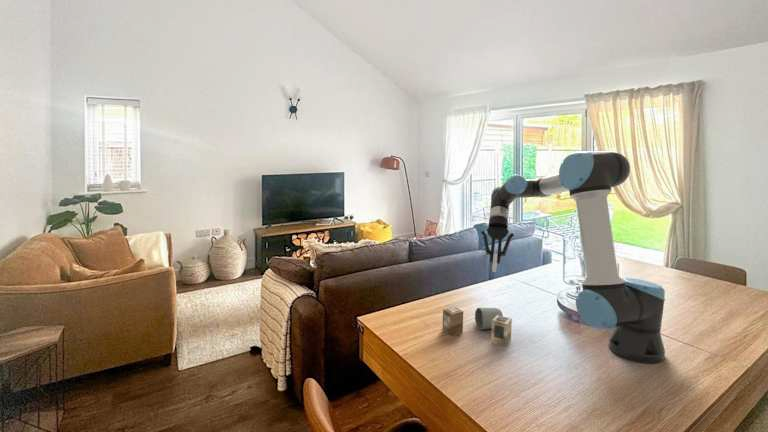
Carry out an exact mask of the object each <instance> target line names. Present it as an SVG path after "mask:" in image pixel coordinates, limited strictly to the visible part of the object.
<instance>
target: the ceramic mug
mask: <svg viewBox="0 0 768 432" xmlns="http://www.w3.org/2000/svg"><path fill="white" fill-rule="evenodd" d="M497 315H499V316H503V313H502V311H501V309H500V308H498V307H477V308H476V309H475V312H474V321H475V325H476V327H477V328H478V329H479V330H492V320H493V319H494V318H495V317H496V316H497ZM503 317H504V316H503Z"/></svg>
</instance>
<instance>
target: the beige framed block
mask: <svg viewBox="0 0 768 432" xmlns="http://www.w3.org/2000/svg"><path fill="white" fill-rule="evenodd" d="M512 321H513V319H512V318H511V317H507V316H499V315H497V316H496V317H495V318H494V319H493V320H492V329H491V334H490V335H491V338H490V343H491V344H494V345H497V346H501V347H507V346H508V345H509V344H510V343H511V341H512V338H511V337H512V323H513V322H512Z"/></svg>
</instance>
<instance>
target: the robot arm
mask: <svg viewBox="0 0 768 432" xmlns="http://www.w3.org/2000/svg"><path fill="white" fill-rule="evenodd" d="M630 173H631V165H630V162H629V160H628V159H627V157H626V156H625V155H623V154H622V153H620V152H617V151H613V150H612V151H611V150H610V151H609V150H608V151H605V150H604V151H598V150H597V151H596V150H591V151H590V150H582V151H575V152H572V153H569V154H567V156H566V157H564V159H563V160H562V163H560V166H559V170H558V173H555V174H549V175H547V176H544V177H543V176H542V177H540V178H534V179H533V178H528V179H526V178H525V177H524V176H523V175H520V174H513V175H511V176H510V177H509V178H508V179H506V181H505V182H504V184H502V186H498V187H494V189H493V190H492V192H491V196H490V198H491V199H490V209H489V216H488V217H489V220H488V227H487V229H486V230H482V231H481V235H480V236H481V238H482V239H483V243H484V248H485V249H484V250H485V253H486V255H488V256H490V258H489V263H490V264H492V270H491V272H493V273H494V272H495V273H497V267H498V264H501V257H506V254H507V252H508V249H509V247H510V244H511V242H512V241H513V240H514V236H515V235H514V233H512V232H509V229H508V225H509V224H508V223H509V210H510V205H511V204H512V203H513V202H514V201H515V200H516V199H519V198H522V199H523V198H546V197H550V196H551V195H555V194H562V193H565V192H569V197H570V198H571V199H572V200H574V201H575V205H576V211H577V218H578V225H579V232H580V233H579V234H580V240H581V247H582V254H583V262H584V268H585V275H586V277H585V278H584V280H583V281H582V282H581V287H582V290H581V291H580V292H579V293H578V294H577V296H576V297H575V298H576V299H575V307H576V310H577V313H578V314H579V316H580V318H581V319H582V320H583V321H584V322H585V323H586V324H587V325H588V326H589V327H591V328H594V329H599V330H604V329H607V330H608V329H613V331H612V332H611V334H610V336H609V338H608V349H610V351H611V352H613V353H614V354H616V355H618V356H620V357H621V358H624V359H626V360H630V361H633V362H638V363H643V364H657V363H662V362H663V361H664V360H665V356H666V350H665V346H664V345H665V344H664V342H663V339H662V338H663V337H662V334H661V330H662V329H661V328H662V321H663V313H664V305H665V301H666V297H665V295H666V291H665V289H664V288H663V287H662V286H661V285H659V284H657V283H654V282H651V281H648V280H644V279H639V278H632V277H623V278H621V277H620V275H619V273H618V265H617V258H616V253H615V252H616V251H615V244H614V239H613V231H612V226H611V218H610V210H609V203H608V196H609V195H610V194H611V192H612V188H616V187H618V186H620V185H622V184H623V183H625V181H627V179H628V178H629V176H630ZM488 236H489V237H490V238H491V246H490V245H489V243H488ZM505 237H506V238H507V239H506V242H505V244H504V246H503V249H502V242H503V240H504V239H505ZM496 240H497V241H498V242H497V243H498V244H497V253H495V247H496V246H495V245H496ZM489 246H490V247H489Z"/></svg>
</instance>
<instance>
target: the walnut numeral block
mask: <svg viewBox="0 0 768 432" xmlns="http://www.w3.org/2000/svg"><path fill="white" fill-rule="evenodd" d="M441 328H442V329H441V331H442V332H444V333H445V334H447V335H449V336H451V337H453V336H457V335H460V334H463V331H464V311H463V310H461V309H460V308H458V307H456V306H451V307H447V308H443V309H442V327H441Z"/></svg>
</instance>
